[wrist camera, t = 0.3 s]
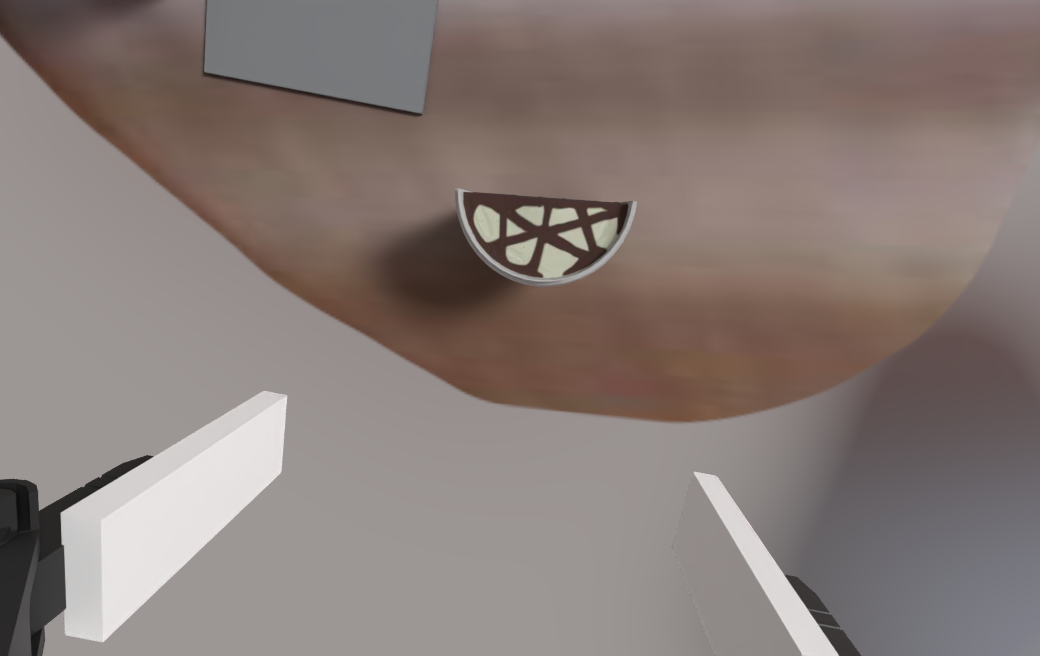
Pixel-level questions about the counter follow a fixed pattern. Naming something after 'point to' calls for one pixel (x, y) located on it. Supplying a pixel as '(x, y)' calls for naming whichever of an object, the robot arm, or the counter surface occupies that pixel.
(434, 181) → the counter surface
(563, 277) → the food container
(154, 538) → the robot arm
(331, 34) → the mat
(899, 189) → the counter surface
